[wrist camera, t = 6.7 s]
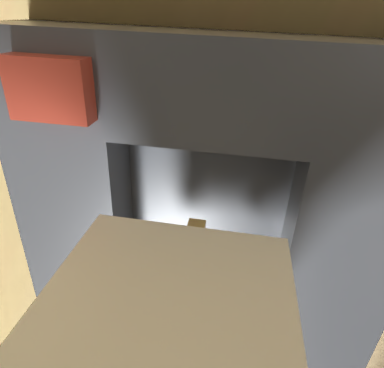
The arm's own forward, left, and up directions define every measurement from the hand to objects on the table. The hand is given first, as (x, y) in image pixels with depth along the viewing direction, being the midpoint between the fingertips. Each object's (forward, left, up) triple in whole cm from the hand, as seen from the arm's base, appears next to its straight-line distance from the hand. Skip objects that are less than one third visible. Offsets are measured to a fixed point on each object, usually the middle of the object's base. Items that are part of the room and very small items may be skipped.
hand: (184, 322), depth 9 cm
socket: (0, 0, -6) cm, 6 cm away
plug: (0, 0, -2) cm, 2 cm away
